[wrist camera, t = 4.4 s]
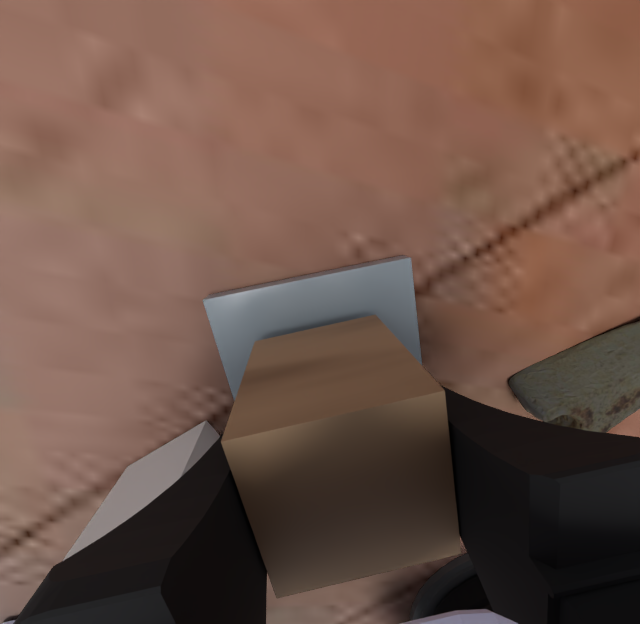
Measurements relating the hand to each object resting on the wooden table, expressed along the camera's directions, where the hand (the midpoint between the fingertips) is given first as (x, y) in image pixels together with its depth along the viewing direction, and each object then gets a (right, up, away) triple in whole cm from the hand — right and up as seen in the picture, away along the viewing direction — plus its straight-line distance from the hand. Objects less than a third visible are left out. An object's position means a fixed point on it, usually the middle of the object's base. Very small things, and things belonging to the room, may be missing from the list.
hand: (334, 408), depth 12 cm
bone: (+16, +2, +5) cm, 16 cm away
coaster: (0, +1, +4) cm, 4 cm away
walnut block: (0, +1, +2) cm, 2 cm away
